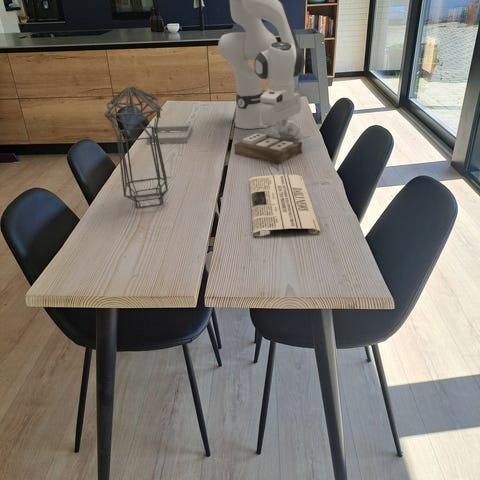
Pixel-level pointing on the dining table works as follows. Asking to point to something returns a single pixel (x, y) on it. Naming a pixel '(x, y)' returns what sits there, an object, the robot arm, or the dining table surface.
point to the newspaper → (281, 204)
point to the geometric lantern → (155, 138)
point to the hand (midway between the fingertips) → (281, 131)
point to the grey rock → (290, 131)
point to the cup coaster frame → (173, 139)
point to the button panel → (268, 151)
